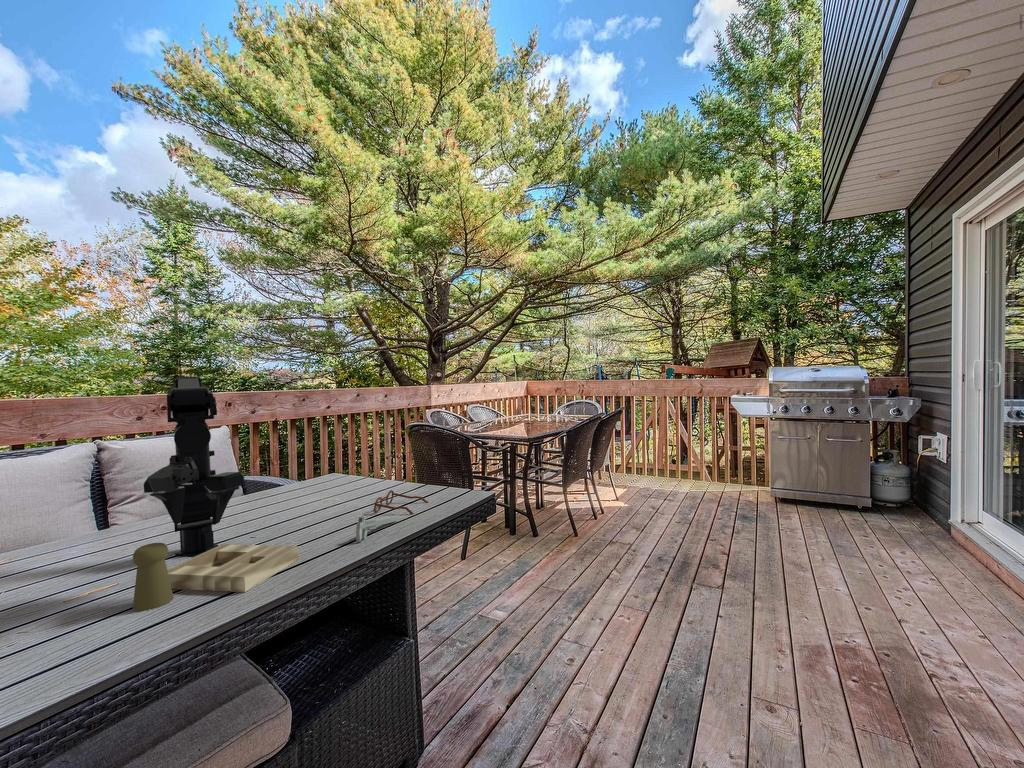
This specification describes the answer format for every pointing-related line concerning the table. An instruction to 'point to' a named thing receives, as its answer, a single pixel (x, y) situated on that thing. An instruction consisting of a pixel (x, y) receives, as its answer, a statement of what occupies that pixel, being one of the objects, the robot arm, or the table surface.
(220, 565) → the block
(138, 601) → the olive knobbed peg
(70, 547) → the table surface
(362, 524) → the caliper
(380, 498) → the glasses
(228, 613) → the table surface
